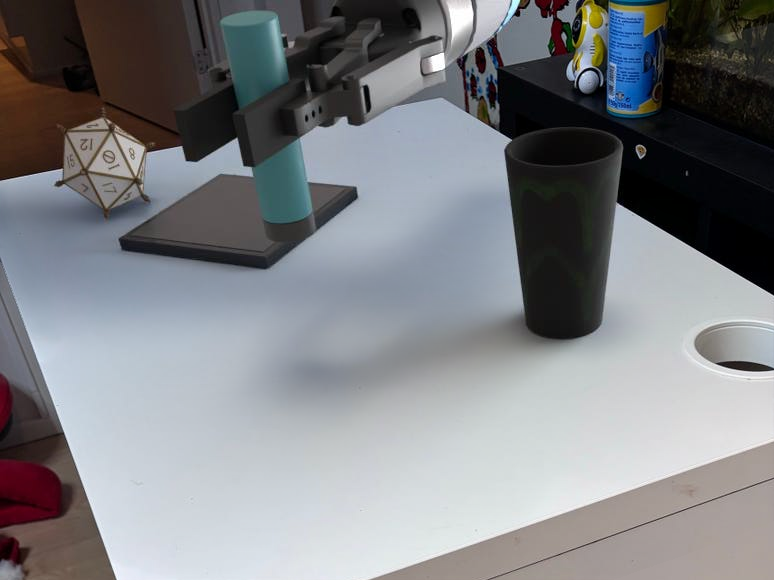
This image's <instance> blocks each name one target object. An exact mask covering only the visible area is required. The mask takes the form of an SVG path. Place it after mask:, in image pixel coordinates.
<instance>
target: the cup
mask: <svg viewBox="0 0 774 580" xmlns="http://www.w3.org/2000/svg"><path fill="white" fill-rule="evenodd" d="M623 151H624V145H623V143H622V140H620V138H618V137H617V136H616V135H615V134H612V133H610V132H608V131H604V130H600V129H596V128H589V127H578V126H576V127H575V126H568V127H565V126H564V127H563V126H562V127H552V128H543V129H539V130H535V131H534V130H533V131H531V132H528V133H524V134H521V135H519V136H517V137H515V138H512V140H510V142H508V143H507V144H506V145H505V147H504V149H503V152H504V161H505V168H506V169H505V170H506V176H507V185H508V192H509V193H508V194H509V200H510V201H509V202H510V208H511V218H512V225H513V231H514V240H515V248H516V256H517V264H518V272H519V281H520V288H521V296H522V304H523V312H524V320H525V326H526V327H527V329H528V330H529V331H530V332H531V333H533V334H536V335H537V336H540V337H543V338H548V339H555V340H559V339H560V340H562V339H563V340H564V339H567V340H568V339H575V338H581V337H583V336H587V335H589V334H591V333H593V332H595V331H596V330H598V329H599V328H600V326H601V325H602V323H603V318H604V317H603V316H604V308H605V301H606V291H607V283H608V276H609V268H610V260H611V259H610V258H611V251H612V250H611V249H612V242H613V233H614V225H615V218H616V211H617V209H616V208H617V201H618V191H619V185H620V178H621V177H620V176H621V168H622V160H623V159H622V158H623Z"/></svg>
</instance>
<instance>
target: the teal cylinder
mask: <svg viewBox="0 0 774 580" xmlns="http://www.w3.org/2000/svg"><path fill="white" fill-rule="evenodd" d="M219 24H220V29H221V33H222V38H223V43H224V46H225V52H226V58H228V61H229V66H230V71H231V75H232V80H233V85H234V89H235V94H236V99H237V103H238V108H239V110H240V109H242V108H243V107H245V106H247V105H249V104H250V103H252V102H254V101H256V100H257V99H259V98H261V97H262V96H264V95H266V94H268V93H269V92H271V91H273V90H275V89H276V88H278V87H280V86H281V85H284V84H285V83H287V82H288V81H289V76H288V70H287V65H286V59H285V53H284V48H283V42H282V37H281V34H282V31H280V30H281V27H280V21H279V16H278V14H277V13H276V12H274V11H270V10H249V11H242V12H236V13H233V14H230V15H227V16H225V17H223V18H221V20H220V22H219ZM250 168H251V173H252V177H253V178H254V182H255V187H256V192H257V196H258V201H259V205H260V210H261V215H262V219H263V224H264V229H265V233H266V237H267V238H268V239H269V240H271V241H274V242H280V243H288V242H296V241H300V240H303V239H304V240H306V239H308V238H310V237H312V236H313V235H314V234H315V233H316V231H317V230H316V226H315V220H314V214H313V209H312V203H311V198H310V192H309V187H308V182H309V180H308V176H307V170H306V165H305V160H304V155H303V147H302V142H301V137H300V138H299V139H297V140H296V141H294V142H293V143H291V144H290V145H288V146H287V147H285V148H284V149H282V150H281V151H279V152H278V153H276V154H274V155H273V156H271V157H270V158H268V159H267V160H265V161H264V162H262V163H261V164H259V165H258V166H256V167H250ZM304 240H303V241H304Z"/></svg>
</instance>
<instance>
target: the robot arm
mask: <svg viewBox="0 0 774 580" xmlns="http://www.w3.org/2000/svg"><path fill="white" fill-rule="evenodd" d="M520 2H521V0H334V3H333V5H332V8H331V11H330V13H329V17H328V18H326V19H323V20H321V21H320V22H319V24H318V26H317V27H316V28H313V29H310V30H307V31H305V32H303V33H300V34H298V35H296V37H295V38H294V41H289V39H288V35H287V34H286V33H281V37H282V42H283V48H284V53H285V59H286V65H287V70H288V76H289V81H288V82H287V83H285V84H284V85H281V86H280V87H278V88H276V89H275V90H273V91H271V92H269V93H268V94H266V95H264V96H262V97H261V98H259V99H257V100H256V101H254V102H252V103H250V104H249V105H247V106H245V107H243V108H242V109H240V110H239V108H238V103H237V99H236V94H235V89H234V85H233V80H232V75H231V71H230V66H229V61H228V57H226V58H225V59H224V60H221V61H220V62H219V63H216V64H215V65H214V66H211V67H210V68H208V69H207V71H206V72H207V76H208V81H209V87H210V90H207V91H205V92H203V93H202V94H200V95H198V96H196V97H194V98H192V99H191V100H189V101H186V102H185V103H182V104H181V105H180V106H177V107H176V108H174V109H172V111H173V115H174V116H173V117H174V119H175V123H176V127H177V128H176V129H177V132H178V136H179V139H180V143H181V147H182V152H183V155H184V160H185V162H189V163H198V162H200V161H201V160H203V159H205V158H206V157H208V156H209V155H211V154H213V153H214V152H216V151H218V150H219V149H221V148H223V147H224V146H227V145H228V144H230V143H231V142H232V141H234V140H236V139H237V143H238V148H239V152H240V157H241V161H242V166H243V167H244V168H251V167H256V166H258V165H259V164H261V163H262V162H264V161H265V160H267V159H268V158H270V157H271V156H273V155H274V154H276V153H278V152H279V151H281V150H282V149H284V148H285V147H287V146H288V145H290V144H291V143H293V142H294V141H296V140H297V139H299V138H300V139H301V138H302V137H303V136H305V135H307V134H308V133H310V132H311V131H312V130H314V129H315V128H317V127H322V128H324V129H326V128H330V127H333V126H334V125H337V123H338V122H339V121H340V120H342V118H346V121H347V124H348V125H349V126H354V127H360V126H362V125H365V124H367V123H369V122H371V121H372V120H374V119H376V118H377V117H379V116H380V115H382V114H384V113H385V112H387V111H389V110H391V109H392V108H394V107H396V106H397V105H399V104H401V103H402V102H404V101H405V100H407V99H409V98H410V97H412V96H414V95H416V94H417V93H419V92H420V91H422V90H424V89H428V88H430V87H433V86H437V85H441V84H442V83H445V82H446V81H447V73H446V72H447V71H446V68H447V67H448V66H450V65H451V64H453V63H454V62H456V61H458V60H459V59H461V58H462V57H464V56H465V55H467V54H468V53H469V52H471V51H472V50H475V48H478V47H480V46H482V45H484V44H486V43H488V42H489V41H490V40H492V39H493V38H494V37H495V35H496V34H498V33H499V32H500V31H501V30H502V29H503V28H504V26H505V25H506V24H507V23H508V22H509V21H510V19H511V18H512V17H513V16H514V15H515V13H516V11H517V8H518V7H519V4H520ZM280 31H281V29H280ZM281 32H282V31H281Z"/></svg>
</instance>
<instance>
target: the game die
mask: <svg viewBox="0 0 774 580" xmlns="http://www.w3.org/2000/svg"><path fill="white" fill-rule="evenodd" d="M99 112H100V113H99V114H100V116H101V117H97V118H95V119H93V120H90V121H87V122H85V123H82V124H80V125H77V126H74V127H71V128H69V129H66V128H65V126H63V124H59V123H58V124H57V123H56V124H55V125H56V127H57V130H58V131H60V133H63V153H62V154H63V155H62V174H61V175H62V177H61V180H56V181H55V183H54V185H53V187H57V188H60V187H63V185H65V186H66V187H68V188H70V189H71V190H72V191H74V192H76V193H77V194H78V195H80V196H81V197H83V198H85V199H86V200H87V201H89V202H91V203H92V204H93V205H95V206H97V207H98V208H100V210H103V213H102V214H103V215H102V217H103V218H104V219H105V221H106V222H107V221H108V219H109V218H110V212H109V211H111V210H113V209H116V208H118V207H120V206H122V205H125V204H127V203H129V202H132V201H134V200H136V199H139V198H142V200H144V202H151V201H150V200H151V199H150V197H149V196H148V195H147V194H145V193H144V191H145V190H144V188H145V178H146V164H147V154H148V153H147V152H148V149H150V150H151V149H153V148H154V146H155V144H156V142H152V141H148V142H147V143H145V144H144V143H143V142H141V140H139V139H138V138H136V137H134V136H133V135H131V134H130V133H129V132H127V131H126V130H125V129H123V128H121V127H120V126H119V125H118V124H116V123H114V122H113V121H111V120H110V119H109V118H107V117H106V116H107V110H106V109H105V107H104V106H103V107H102V108H101V109H100V111H99Z"/></svg>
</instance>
